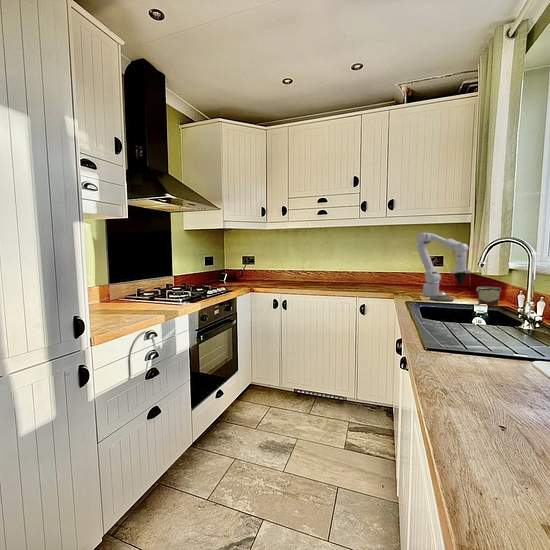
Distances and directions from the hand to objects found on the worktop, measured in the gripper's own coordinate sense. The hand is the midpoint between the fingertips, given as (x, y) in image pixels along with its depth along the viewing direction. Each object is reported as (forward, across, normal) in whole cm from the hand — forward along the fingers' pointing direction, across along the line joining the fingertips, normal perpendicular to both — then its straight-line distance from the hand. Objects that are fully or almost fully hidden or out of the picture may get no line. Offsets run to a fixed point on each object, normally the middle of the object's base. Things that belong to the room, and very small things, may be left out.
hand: (460, 284), depth 189 cm
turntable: (+9, -12, +2) cm, 16 cm away
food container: (+10, -5, -20) cm, 23 cm away
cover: (+7, -12, +3) cm, 15 cm away
